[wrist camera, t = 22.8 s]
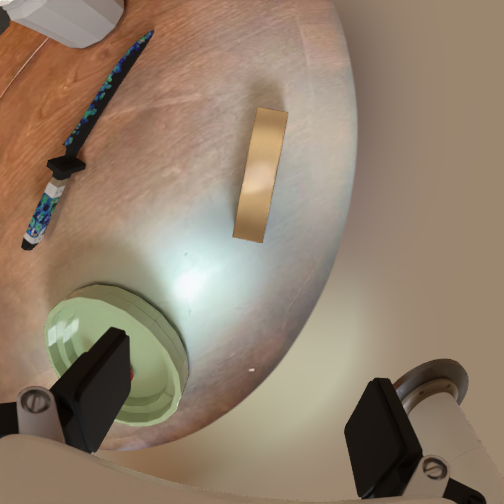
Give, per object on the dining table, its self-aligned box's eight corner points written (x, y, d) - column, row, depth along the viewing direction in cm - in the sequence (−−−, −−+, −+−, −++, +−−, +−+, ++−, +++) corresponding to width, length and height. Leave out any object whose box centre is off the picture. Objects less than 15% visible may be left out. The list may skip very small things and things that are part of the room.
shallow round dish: (220, 377, 38) (214, 402, 33) (125, 416, 42) (114, 436, 37) (121, 252, 34) (100, 265, 29) (43, 322, 38) (25, 336, 33)
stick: (258, 112, 29) (257, 106, 26) (286, 117, 29) (288, 112, 26) (235, 231, 33) (232, 237, 30) (263, 236, 33) (262, 243, 30)
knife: (44, 248, 33) (24, 255, 29) (31, 235, 33) (11, 241, 29) (175, 48, 29) (166, 31, 25) (157, 38, 29) (147, 22, 24)
